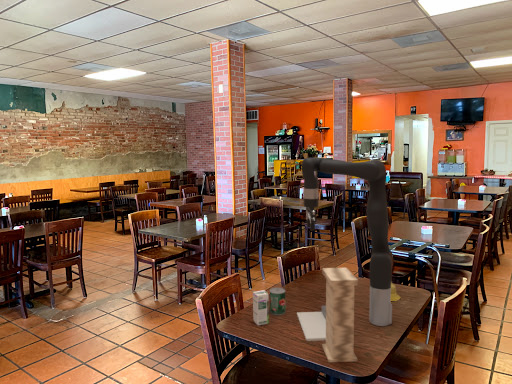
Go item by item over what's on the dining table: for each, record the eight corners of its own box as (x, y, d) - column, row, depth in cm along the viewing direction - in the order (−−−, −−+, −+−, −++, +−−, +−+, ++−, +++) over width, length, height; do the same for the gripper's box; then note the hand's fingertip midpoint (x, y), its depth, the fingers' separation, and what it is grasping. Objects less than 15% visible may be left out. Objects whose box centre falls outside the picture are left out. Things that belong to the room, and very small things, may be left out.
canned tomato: (286, 315, 183) (286, 293, 182) (270, 315, 183) (269, 293, 182) (284, 308, 191) (284, 287, 190) (269, 308, 191) (269, 287, 190)
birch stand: (346, 341, 157) (347, 267, 153) (358, 361, 142) (359, 279, 138) (320, 342, 156) (320, 268, 153) (329, 363, 141) (329, 280, 138)
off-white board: (333, 313, 184) (333, 311, 184) (348, 339, 159) (348, 337, 159) (296, 314, 184) (296, 312, 184) (306, 341, 158) (306, 338, 158)
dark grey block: (321, 311, 184) (327, 311, 184) (334, 337, 159) (341, 336, 159) (321, 305, 184) (327, 305, 184) (334, 330, 158) (341, 330, 159)
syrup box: (257, 326, 172) (257, 295, 171) (253, 320, 178) (252, 291, 176) (269, 323, 174) (268, 293, 173) (264, 318, 180) (263, 289, 178)
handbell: (397, 304, 194) (398, 257, 192) (373, 298, 202) (374, 253, 199) (404, 296, 204) (405, 251, 201) (381, 291, 212) (382, 248, 209)
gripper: (321, 199, 182) (321, 231, 184) (315, 195, 196) (315, 226, 198) (306, 199, 182) (306, 232, 183) (301, 195, 196) (301, 226, 198)
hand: (310, 228), depth 191 cm, fingers open, 8 cm apart
